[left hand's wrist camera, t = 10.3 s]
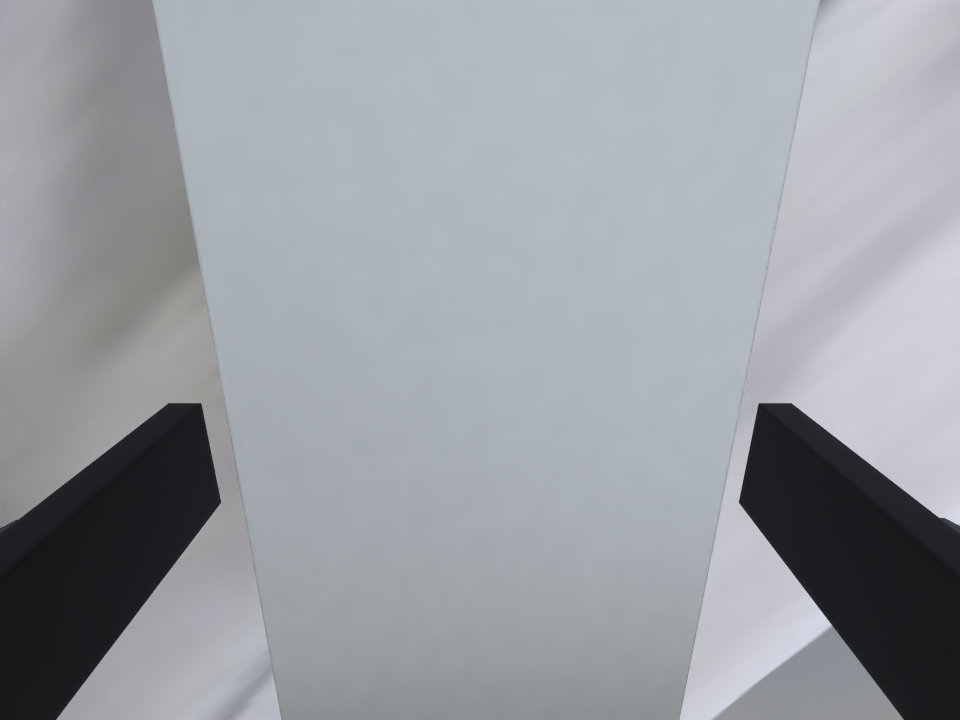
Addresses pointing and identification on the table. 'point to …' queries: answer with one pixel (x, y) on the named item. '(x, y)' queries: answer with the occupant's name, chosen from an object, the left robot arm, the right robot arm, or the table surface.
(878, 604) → the left robot arm
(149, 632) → the table surface
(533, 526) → the bar
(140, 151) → the table surface
